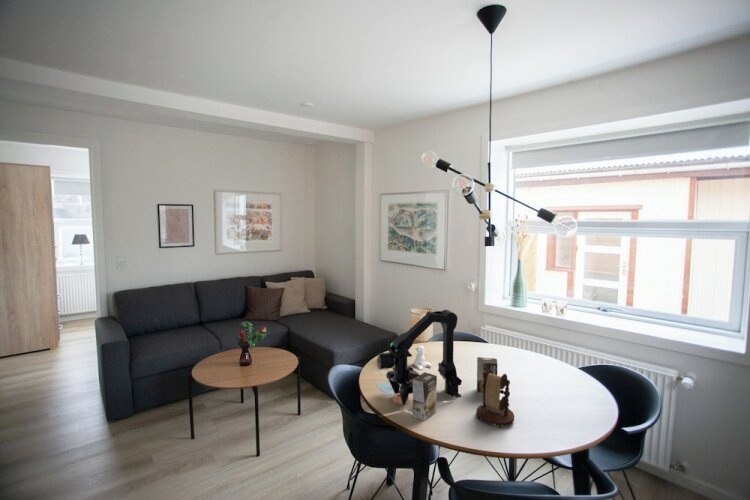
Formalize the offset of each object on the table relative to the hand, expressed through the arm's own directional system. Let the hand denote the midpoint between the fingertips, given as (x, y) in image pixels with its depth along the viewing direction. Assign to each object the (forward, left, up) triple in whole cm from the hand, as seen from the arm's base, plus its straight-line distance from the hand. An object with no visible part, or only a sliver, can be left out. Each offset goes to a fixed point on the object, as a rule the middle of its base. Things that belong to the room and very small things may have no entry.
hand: (400, 400), depth 164 cm
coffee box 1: (-12, -5, -1) cm, 14 cm away
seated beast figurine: (+31, -27, -1) cm, 41 cm away
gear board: (+13, -7, -1) cm, 14 cm away
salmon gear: (0, 0, -1) cm, 1 cm away
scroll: (-26, -30, -1) cm, 40 cm away
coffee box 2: (-7, -41, -1) cm, 42 cm away
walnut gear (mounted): (+13, -12, 0) cm, 18 cm away
